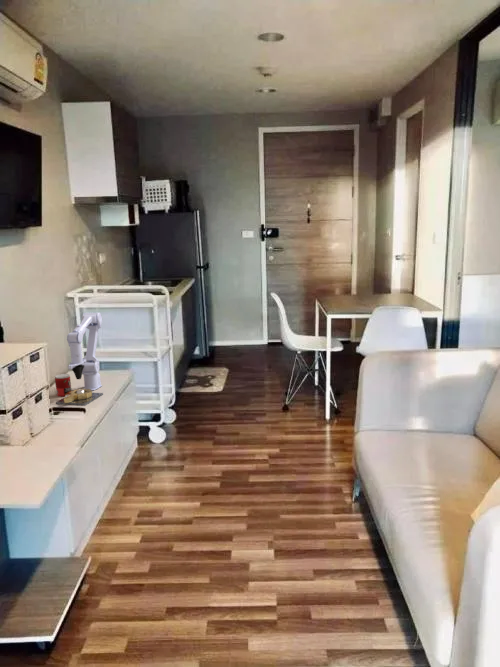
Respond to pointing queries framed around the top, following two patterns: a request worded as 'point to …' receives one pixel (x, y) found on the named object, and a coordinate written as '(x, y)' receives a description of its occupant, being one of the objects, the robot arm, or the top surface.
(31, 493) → the top surface
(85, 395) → the handled octagonal ring
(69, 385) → the canned food
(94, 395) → the flange plate
